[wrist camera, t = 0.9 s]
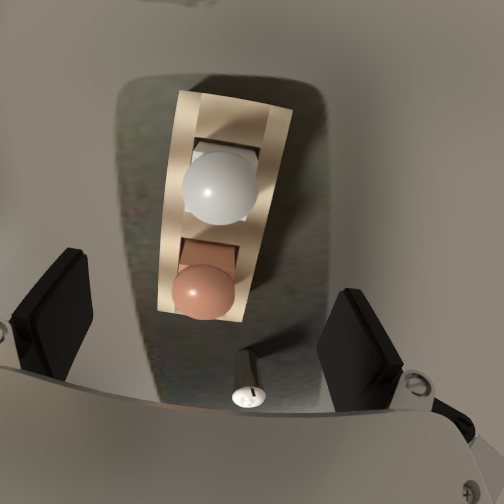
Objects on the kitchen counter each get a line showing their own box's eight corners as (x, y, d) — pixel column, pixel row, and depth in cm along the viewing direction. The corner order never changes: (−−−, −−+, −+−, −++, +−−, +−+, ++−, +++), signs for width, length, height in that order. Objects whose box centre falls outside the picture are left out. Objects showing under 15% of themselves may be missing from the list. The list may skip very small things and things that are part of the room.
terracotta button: (182, 234, 30) (173, 264, 25) (238, 242, 31) (240, 274, 26) (178, 281, 33) (170, 315, 28) (229, 288, 34) (229, 323, 29)
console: (187, 91, 27) (179, 90, 23) (283, 107, 29) (293, 110, 24) (164, 285, 38) (157, 310, 34) (240, 296, 40) (241, 322, 36)
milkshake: (264, 343, 45) (271, 397, 36) (257, 365, 47) (262, 417, 38) (234, 340, 44) (236, 395, 35) (229, 363, 46) (230, 415, 38)
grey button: (196, 136, 26) (187, 146, 21) (259, 147, 27) (265, 160, 22) (187, 195, 28) (177, 219, 23) (246, 204, 29) (249, 230, 24)
